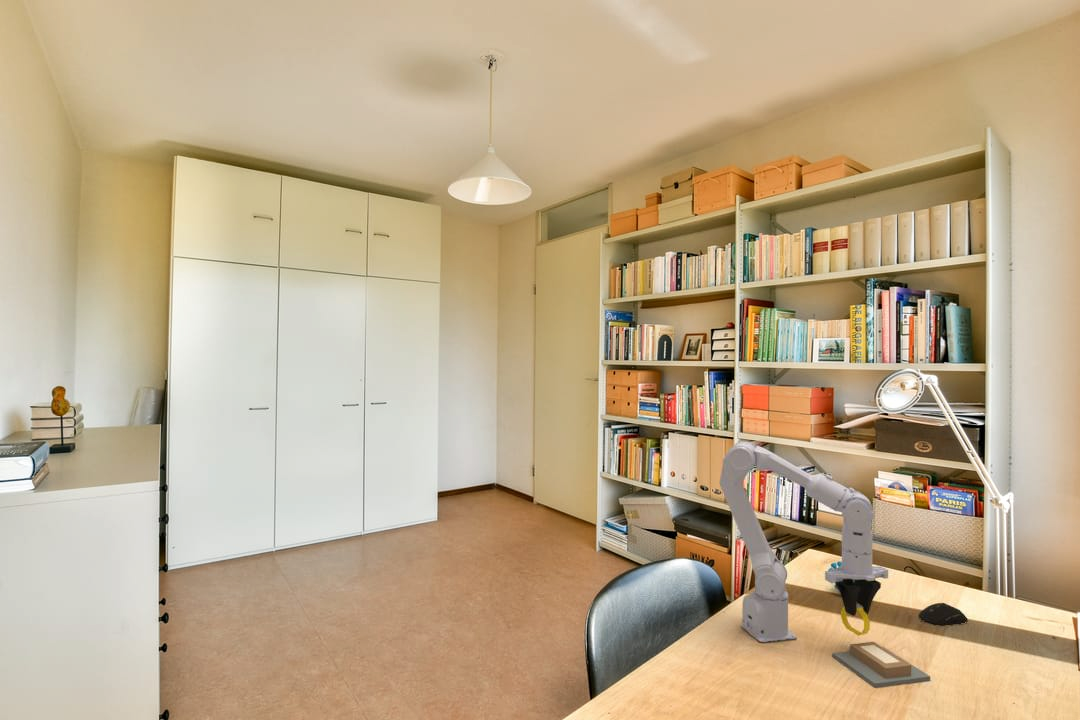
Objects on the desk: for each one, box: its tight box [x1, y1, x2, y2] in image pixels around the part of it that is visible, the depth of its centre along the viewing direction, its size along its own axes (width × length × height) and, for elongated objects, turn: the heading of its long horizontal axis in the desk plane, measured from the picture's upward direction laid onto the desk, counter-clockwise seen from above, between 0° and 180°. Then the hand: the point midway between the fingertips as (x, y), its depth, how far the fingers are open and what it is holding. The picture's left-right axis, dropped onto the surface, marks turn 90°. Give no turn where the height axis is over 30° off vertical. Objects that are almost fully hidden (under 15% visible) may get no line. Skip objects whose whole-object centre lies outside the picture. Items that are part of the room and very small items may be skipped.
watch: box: [840, 603, 871, 637], centre depth 114 cm, size 6×3×6 cm, turn 20°
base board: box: [831, 641, 931, 688], centre depth 108 cm, size 13×11×3 cm
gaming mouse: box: [918, 602, 969, 627], centre depth 130 cm, size 6×15×4 cm, turn 105°
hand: (856, 612), depth 114 cm, fingers closed on watch, 3 cm apart
